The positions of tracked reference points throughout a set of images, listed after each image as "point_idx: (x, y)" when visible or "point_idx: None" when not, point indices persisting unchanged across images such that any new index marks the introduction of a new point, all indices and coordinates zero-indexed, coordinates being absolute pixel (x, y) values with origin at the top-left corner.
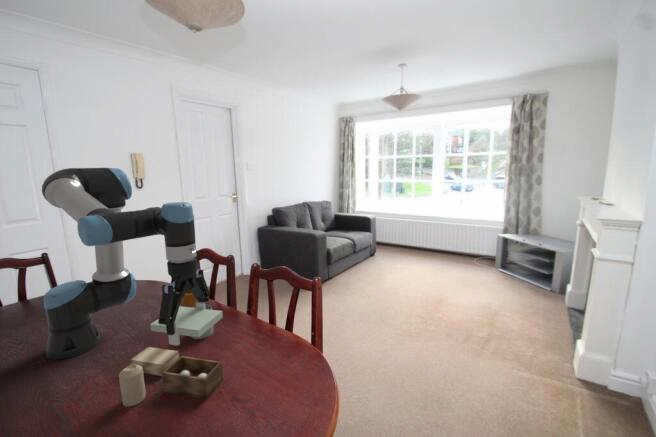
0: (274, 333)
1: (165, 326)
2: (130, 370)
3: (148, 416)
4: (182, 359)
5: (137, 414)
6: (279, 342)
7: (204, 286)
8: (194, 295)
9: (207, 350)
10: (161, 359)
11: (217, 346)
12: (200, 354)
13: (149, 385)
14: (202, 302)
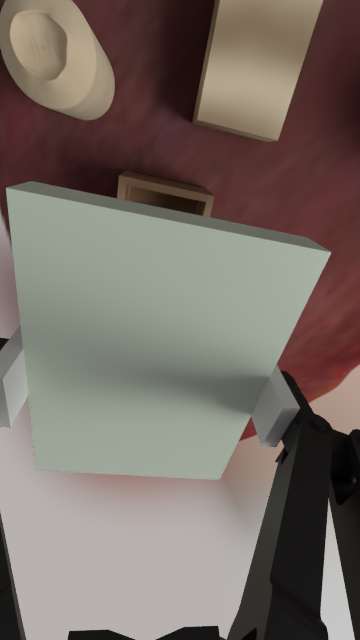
0: (349, 360)
1: (20, 320)
2: (22, 66)
3: (37, 181)
4: (205, 202)
5: (34, 141)
6: (305, 377)
7: (347, 578)
8: (290, 471)
9: (313, 212)
10: (230, 91)
11: (328, 235)
12: (295, 198)
13: (147, 94)
14: (277, 436)
